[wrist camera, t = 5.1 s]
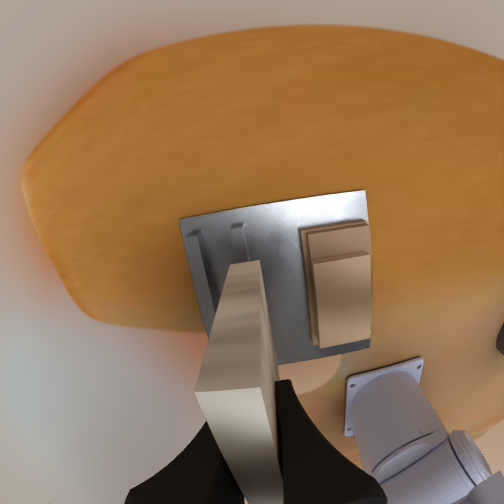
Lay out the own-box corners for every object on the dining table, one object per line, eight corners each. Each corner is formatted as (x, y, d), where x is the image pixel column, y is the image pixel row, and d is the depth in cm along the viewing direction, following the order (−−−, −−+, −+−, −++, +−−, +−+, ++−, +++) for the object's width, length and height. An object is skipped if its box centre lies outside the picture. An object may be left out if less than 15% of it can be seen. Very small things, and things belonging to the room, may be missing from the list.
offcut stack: (366, 329, 22) (375, 345, 19) (311, 340, 22) (316, 357, 20) (362, 219, 19) (375, 225, 17) (299, 228, 19) (305, 236, 17)
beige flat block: (283, 401, 17) (293, 521, 8) (261, 404, 17) (261, 524, 9) (259, 260, 14) (260, 387, 6) (229, 264, 15) (194, 391, 6)
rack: (368, 344, 22) (375, 358, 21) (218, 368, 23) (216, 383, 21) (363, 189, 19) (373, 192, 17) (180, 218, 20) (172, 224, 18)
